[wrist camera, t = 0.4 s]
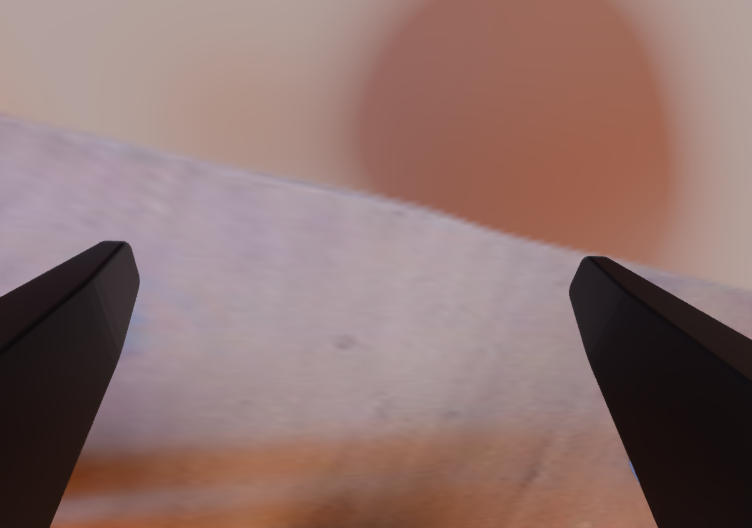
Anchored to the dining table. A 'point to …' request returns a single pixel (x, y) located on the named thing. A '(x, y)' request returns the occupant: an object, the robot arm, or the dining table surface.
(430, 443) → the dining table surface
